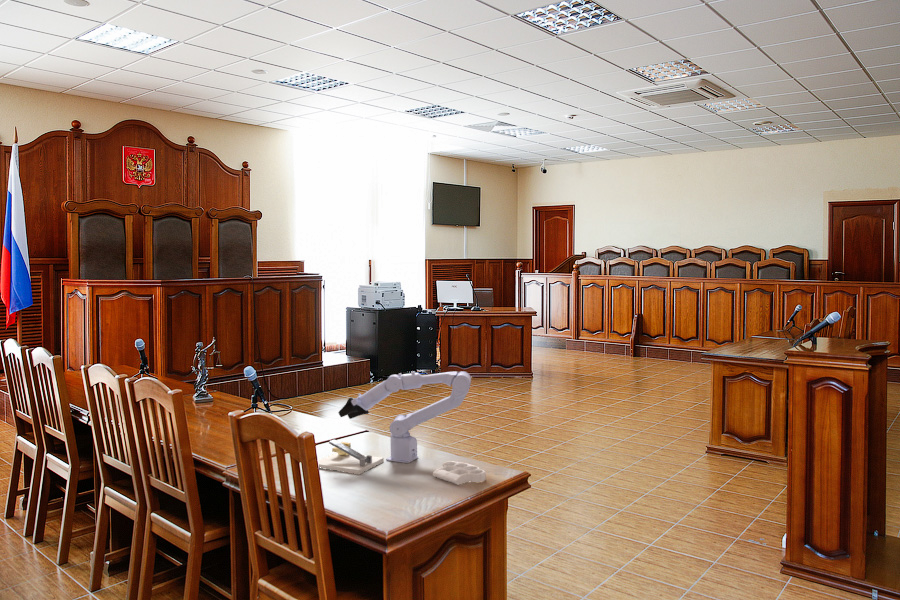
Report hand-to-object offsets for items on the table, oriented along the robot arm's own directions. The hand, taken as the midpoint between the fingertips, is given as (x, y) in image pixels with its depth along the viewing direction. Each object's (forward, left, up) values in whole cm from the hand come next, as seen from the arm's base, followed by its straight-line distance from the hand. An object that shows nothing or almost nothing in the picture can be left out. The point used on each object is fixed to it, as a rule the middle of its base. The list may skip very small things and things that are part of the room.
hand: (344, 415), depth 245 cm
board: (-6, +6, -16) cm, 18 cm away
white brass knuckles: (-49, +3, -17) cm, 52 cm away
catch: (0, +2, -14) cm, 15 cm away
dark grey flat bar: (-7, +8, -11) cm, 15 cm away
